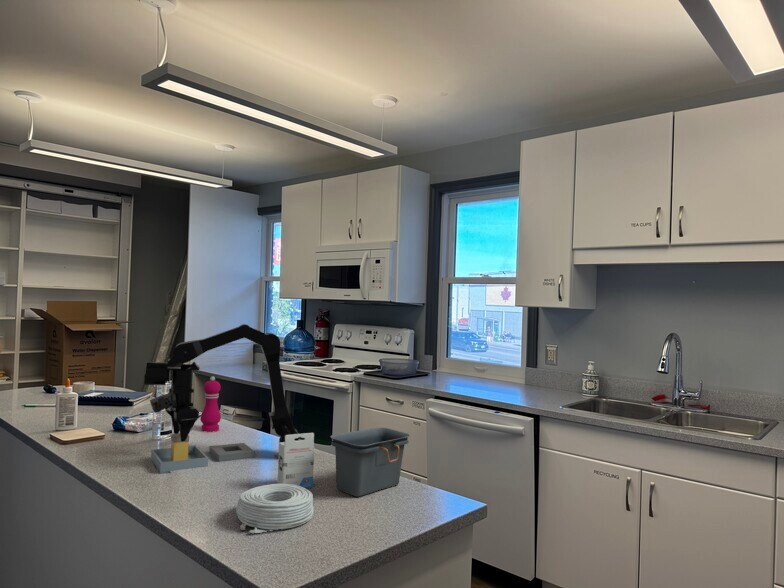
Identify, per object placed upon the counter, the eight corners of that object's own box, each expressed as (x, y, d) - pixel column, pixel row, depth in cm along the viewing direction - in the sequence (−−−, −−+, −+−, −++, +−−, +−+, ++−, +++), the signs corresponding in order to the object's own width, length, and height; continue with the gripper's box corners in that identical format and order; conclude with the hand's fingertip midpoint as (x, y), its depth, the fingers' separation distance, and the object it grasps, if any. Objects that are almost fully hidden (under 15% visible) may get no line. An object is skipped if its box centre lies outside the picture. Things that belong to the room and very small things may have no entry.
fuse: (187, 463, 165) (189, 435, 166) (173, 464, 163) (174, 437, 163) (184, 459, 169) (185, 432, 169) (169, 460, 167) (171, 434, 167)
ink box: (307, 482, 155) (309, 428, 155) (313, 487, 150) (315, 432, 151) (276, 485, 151) (279, 430, 151) (281, 491, 146) (284, 434, 147)
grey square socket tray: (254, 459, 174) (254, 451, 174) (218, 463, 168) (219, 455, 168) (243, 450, 183) (243, 442, 183) (209, 454, 177) (209, 446, 177)
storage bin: (378, 473, 165) (380, 425, 165) (418, 487, 154) (420, 435, 155) (322, 489, 149) (325, 435, 149) (363, 506, 139) (366, 448, 139)
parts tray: (207, 467, 163) (208, 457, 163) (160, 473, 156) (160, 462, 156) (195, 454, 176) (195, 445, 176) (150, 459, 169) (151, 449, 169)
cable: (242, 538, 118) (243, 510, 118) (230, 509, 134) (231, 483, 134) (322, 528, 125) (323, 501, 125) (302, 501, 141) (303, 477, 141)
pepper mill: (224, 430, 209) (226, 376, 210) (208, 433, 203) (211, 378, 204) (211, 426, 213) (213, 374, 214) (195, 430, 207) (198, 376, 207)
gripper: (147, 381, 170) (145, 433, 170) (159, 391, 154) (156, 448, 154) (185, 380, 176) (183, 429, 176) (200, 389, 160) (198, 444, 160)
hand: (179, 437), depth 166 cm, fingers open, 9 cm apart
